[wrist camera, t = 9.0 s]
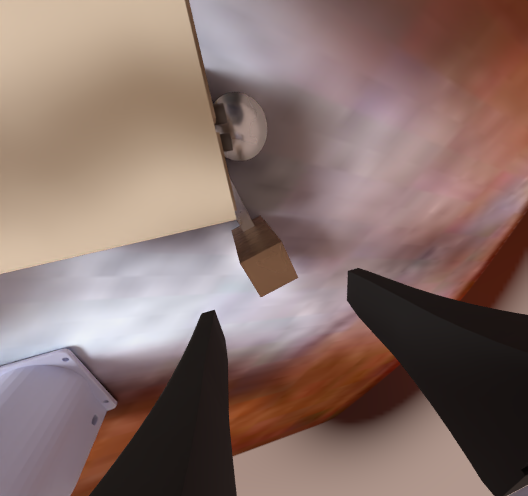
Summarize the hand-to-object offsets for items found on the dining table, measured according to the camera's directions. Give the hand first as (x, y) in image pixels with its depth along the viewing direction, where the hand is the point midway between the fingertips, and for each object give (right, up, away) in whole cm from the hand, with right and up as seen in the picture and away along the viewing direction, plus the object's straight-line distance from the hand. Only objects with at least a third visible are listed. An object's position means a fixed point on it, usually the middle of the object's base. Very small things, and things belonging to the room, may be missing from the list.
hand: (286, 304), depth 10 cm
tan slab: (-11, +9, +3) cm, 15 cm away
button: (-3, +11, +4) cm, 13 cm away
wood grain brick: (-4, +8, +5) cm, 10 cm away
